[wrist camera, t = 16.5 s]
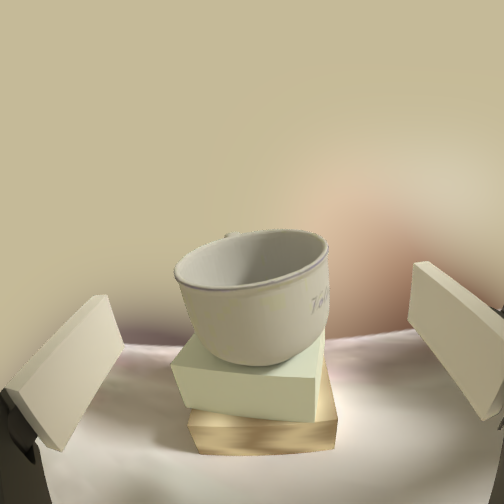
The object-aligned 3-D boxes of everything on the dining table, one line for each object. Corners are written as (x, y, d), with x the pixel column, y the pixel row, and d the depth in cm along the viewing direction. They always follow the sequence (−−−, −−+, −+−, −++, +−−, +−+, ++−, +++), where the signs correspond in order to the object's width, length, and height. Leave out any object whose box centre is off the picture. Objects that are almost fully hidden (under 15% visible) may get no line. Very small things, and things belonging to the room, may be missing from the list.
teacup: (348, 373, 18) (352, 262, 16) (187, 395, 18) (155, 288, 16) (305, 290, 31) (299, 216, 29) (203, 303, 31) (189, 230, 29)
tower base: (319, 371, 33) (319, 337, 31) (333, 451, 21) (338, 419, 20) (218, 377, 34) (211, 345, 32) (201, 456, 22) (187, 425, 21)
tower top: (324, 343, 30) (324, 301, 28) (314, 422, 20) (315, 377, 18) (226, 339, 33) (218, 301, 31) (185, 407, 23) (170, 364, 21)
